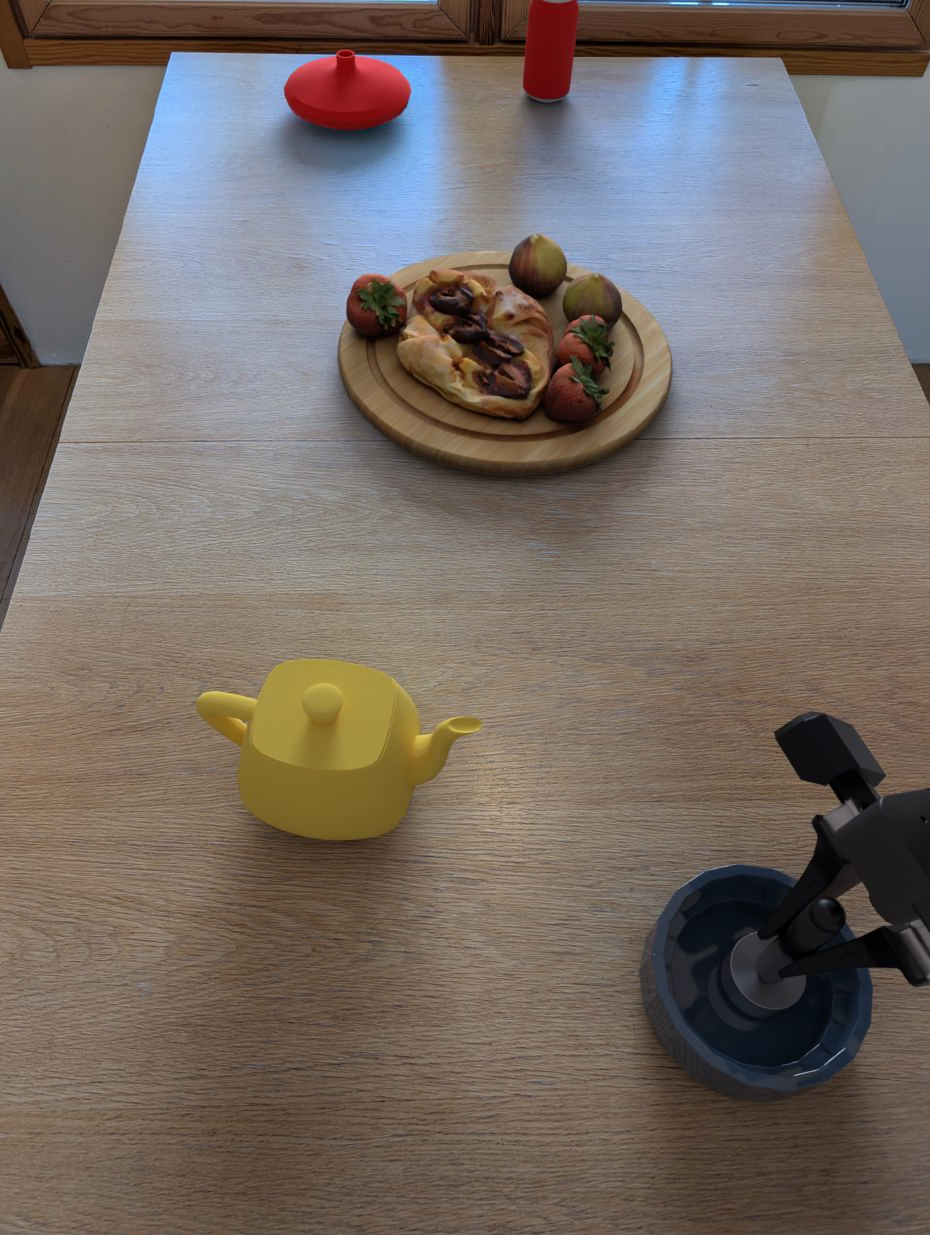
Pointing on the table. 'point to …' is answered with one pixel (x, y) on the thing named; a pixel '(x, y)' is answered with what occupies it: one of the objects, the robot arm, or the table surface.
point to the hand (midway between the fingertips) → (771, 955)
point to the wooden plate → (503, 360)
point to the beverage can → (550, 48)
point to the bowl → (709, 1021)
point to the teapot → (330, 748)
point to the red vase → (347, 92)
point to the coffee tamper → (778, 960)
